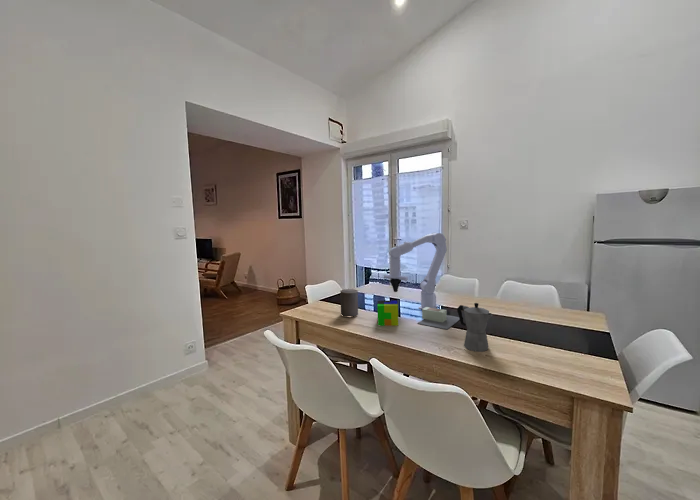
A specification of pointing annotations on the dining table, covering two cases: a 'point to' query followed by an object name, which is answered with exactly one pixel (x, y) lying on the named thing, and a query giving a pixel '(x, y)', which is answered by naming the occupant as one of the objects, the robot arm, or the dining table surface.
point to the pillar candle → (349, 302)
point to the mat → (443, 325)
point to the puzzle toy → (387, 313)
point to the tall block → (434, 314)
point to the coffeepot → (475, 327)
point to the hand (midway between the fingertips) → (395, 291)
